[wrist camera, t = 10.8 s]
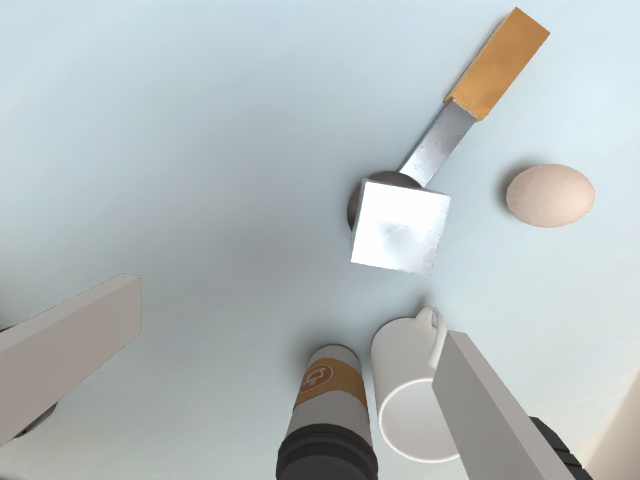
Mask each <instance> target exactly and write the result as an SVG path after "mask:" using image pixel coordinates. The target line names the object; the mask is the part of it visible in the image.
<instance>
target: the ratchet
mask: <svg viewBox="0 0 640 480" xmlns="http://www.w3.org/2000/svg"><path fill="white" fill-rule="evenodd" d="M549 35H550V32H549V31H547V30H546V29H545V28H543V27H542V26H541V25H539V24H538V23H537V22H536V21H534V20H533V19H532V18H530V17H529V16H528V15H526V14H525V13H524V12H523V11H521V10H520V9H519V8H517V7H515V8H514V9H513V10H512V11H511V12H510V13H509V14H508V15H507V16H506V17H505V18H504V19H503V20H502V21H501V22H500V24H499V25H498V27H497V28H496V29H495V31H494V32H493V33H492V35H491V36H490V38H489V39H488V40H487V42H486V43H485V44H484V46H483V47H482V49H481V50H480V51H479V53H478V54H477V55H476V57H475V58H474V60H473V61H472V62H471V64H470V65H469V66H468V68H467V69H466V71H465V72H464V73H463V75H462V76H461V77H460V79H459V80H458V82H457V83H456V84H455V86H454V87H453V88H452V90H451V91H450V93H449V94H448V95H447V97H446V98H445V99H444V101H443V102H444V103H446V105H445V106H444V108H443V109H442V111H441V112H440V113H439V115H438V116H437V117H436V119H435V120H434V121H433V123H432V124H431V126H430V127H429V128H428V130H427V131H426V132H425V134H424V135H423V136H422V138H421V139H420V141H419V142H418V143H417V145H416V146H415V147H414V149H413V150H412V151H411V153H410V154H409V156H408V157H407V158H406V160H405V161H404V162H403V164H402V165H401V167H400V168H399V169H398V171H397V172H393V171H381V172H377V173H373V174H371V175H369V176H367V177H365V178H366V179H372V180H378V181H384V182H390V183H396V184H402V185H408V186H414V187H420V188H424V187H425V186H426V184H427V183H428V182H429V181H430V179H431V178H432V177H433V175H434V174H435V173H436V171H437V170H438V169H439V168H440V166H441V165H442V164H443V162H444V161H445V160H446V158H447V157H448V156H449V155H450V153H451V152H452V151H453V149H454V148H455V147H456V146H457V144H458V143H459V142H460V140H461V139H462V138H463V136H464V135H465V134H466V133H467V131H468V130H469V129H470V127H471V126H472V125H473V123H475V122H478V121H481V120H483V119H484V118H485V117H486V116H487V114H488V113H489V112H490V110H491V109H492V108H493V107H494V105H495V104H496V103H497V101H498V100H499V99H500V98H501V96H502V95H503V94H504V92H505V91H506V90H507V89H508V87H509V86H510V85H511V83H512V82H513V81H514V80H515V78H516V77H517V76H518V74H519V73H520V72H521V71H522V69H523V68H524V67H525V65H526V64H527V63H528V62H529V60H530V59H531V58H532V56H533V55H534V54H535V53H536V51H537V50H538V49H539V47H540V46H541V45H542V44H543V42H544V41H545V40H546V38H547V37H548V36H549ZM361 182H362V180H361V181H360V182H359V183H358V184H357V185H356V187H355V188H354V189H353V191H352V193H351V195H350V198H349V201H348V207H347V218H348V223H349V227H350V229H351V231H352V229H353V223H354V218H355V213H356V208H357V202H358V197H359V192H360V187H361Z"/></svg>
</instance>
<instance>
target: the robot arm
mask: <svg viewBox="0 0 640 480" xmlns="http://www.w3.org/2000/svg"><path fill="white" fill-rule="evenodd" d="M140 333H141V276H136V275H131V274H125V273H123V274H121V275H119V276H117V277H115V278H113V279H111V280H109V281H107V282H105V283H103V284H101V285H98V286H96V287H94V288H92V289H90V290H88V291H86V292H84V293H82V294H80V295H78V296H76V297H74V298H72V299H69V300H67V301H65V302H63V303H61V304H59V305H57V306H55V307H53V308H51V309H49V310H47V311H45V312H43V313H40V314H38V315H36V316H34V317H32V318H30V319H28V320H26V321H24V322H22V323H20V324H18V325H15V326H12V327H9V328H5V329H2V330H0V448H1V447H2V446H3V445H5V444H6V443H7V442H9V441H11V440H12V439H14V438H17V437H20V436H22V435H24V434H26V433H28V432H30V431H31V430H33V429H34V428H35V427H36V426H38V425H39V424H40V423H41V422H42V421H44V420H45V419H46V418H47V417H48V416H49V415H50V414H51V413H52V411H53V410H54V408H55V405H56V402H57V401H58V400H60V399H61V398H62V397H63V396H64V395H66V394H67V393H68V392H69V391H71V390H72V389H73V388H74V387H75V386H77V385H78V384H79V383H80V382H82V381H83V380H84V379H85V378H86V377H88V376H89V375H90V374H91V373H93V372H94V371H95V370H96V369H97V368H99V367H100V366H101V365H102V364H104V363H105V362H106V361H107V360H108V359H110V358H111V357H112V356H113V355H115V354H116V353H117V352H118V351H119V350H121V349H122V348H123V347H124V346H126V345H127V344H128V343H129V342H130V341H132V340H133V339H134V338H135V337H136V336H138V335H139V334H140ZM431 387H432V389H433V391H434V394H435V396H436V399H437V401H438V404H439V406H440V409H441V411H442V413H443V416H444V418H445V421H446V423H447V426H448V428H449V431H450V433H451V435H452V438H453V440H454V443H455V445H456V448H457V450H458V453H459V455H460V457H461V460H462V462H463V465H464V467H465V470H466V472H467V474H468V477H469V479H470V480H593V479H592V478H591V476H590V475H589V474H588V473H587V471H586V470H585V469H582V465H581V464H580V463H579V461H578V460H577V459H576V458H575V457H574V455H573V454H570V450H569V449H568V448H567V447H566V445H565V444H564V443H563V442H562V440H561V439H560V438H559V437H558V435H557V434H556V433H555V432H554V431H552V430H551V429H550V428H549V427H548V426H547V425H545V424H544V423H543V422H542V421H541V420H540V419H538V418H536V417H530V416H528V415H527V414H526V413H525V411H524V410H523V409H522V407H521V406H520V405H519V403H518V402H517V401H516V399H515V398H514V397H513V395H512V394H511V393H510V391H509V390H508V389H507V387H506V386H505V385H504V383H503V382H502V381H501V379H500V378H499V377H498V375H497V374H496V373H495V371H494V370H493V369H492V367H491V366H490V365H489V363H488V362H487V361H486V359H485V358H484V357H483V355H482V354H481V353H480V351H479V350H478V349H477V347H476V346H475V345H474V343H473V342H472V341H471V339H470V338H469V337H468V335H467V334H466V333H461V332H456V331H450V330H447V333H446V337H445V340H444V344H443V347H442V351H441V354H440V358H439V361H438V365H437V368H436V372H435V375H434V379H433V382H432V385H431Z"/></svg>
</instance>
